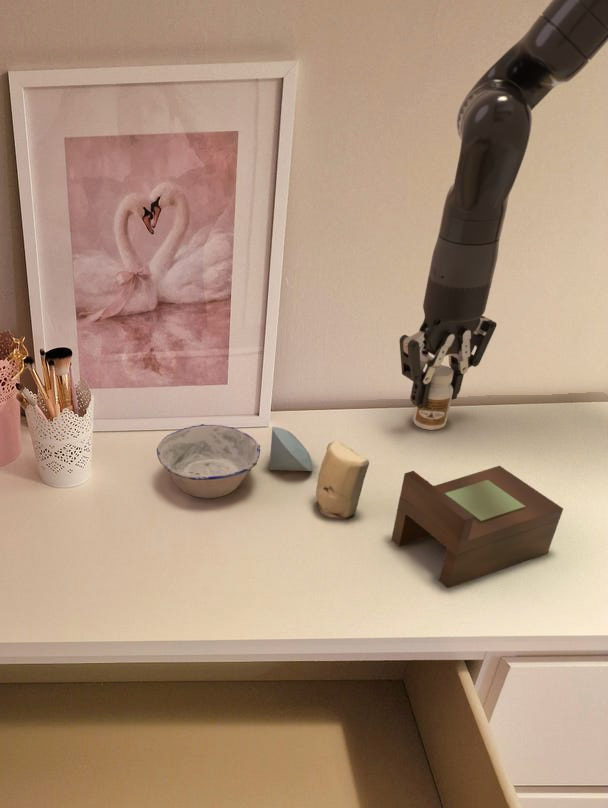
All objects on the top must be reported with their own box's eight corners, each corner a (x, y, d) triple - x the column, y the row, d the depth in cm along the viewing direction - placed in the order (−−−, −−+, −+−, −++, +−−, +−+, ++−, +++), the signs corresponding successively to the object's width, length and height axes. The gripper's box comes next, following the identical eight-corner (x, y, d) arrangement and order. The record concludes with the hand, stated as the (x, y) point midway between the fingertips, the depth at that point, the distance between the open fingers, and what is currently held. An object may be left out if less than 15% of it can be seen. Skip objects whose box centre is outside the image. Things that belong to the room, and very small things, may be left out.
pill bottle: (412, 429, 119) (423, 376, 114) (412, 414, 123) (423, 361, 117) (446, 432, 119) (458, 378, 113) (445, 416, 122) (457, 364, 116)
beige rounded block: (365, 502, 107) (374, 444, 102) (357, 525, 104) (366, 467, 98) (318, 494, 109) (326, 437, 103) (309, 517, 105) (316, 459, 100)
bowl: (228, 446, 118) (230, 414, 115) (276, 493, 109) (279, 459, 106) (141, 469, 115) (140, 436, 112) (184, 519, 106) (184, 485, 103)
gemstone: (254, 463, 109) (284, 435, 107) (245, 439, 115) (273, 412, 113) (294, 500, 112) (324, 474, 110) (283, 475, 118) (311, 450, 116)
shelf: (487, 508, 105) (506, 442, 99) (547, 553, 98) (572, 484, 92) (391, 539, 101) (404, 473, 95) (447, 588, 94) (465, 519, 88)
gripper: (432, 295, 102) (407, 426, 114) (528, 272, 106) (494, 401, 118) (394, 275, 107) (373, 402, 119) (486, 254, 111) (458, 379, 123)
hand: (434, 400), depth 118 cm, fingers closed on pill bottle, 4 cm apart
